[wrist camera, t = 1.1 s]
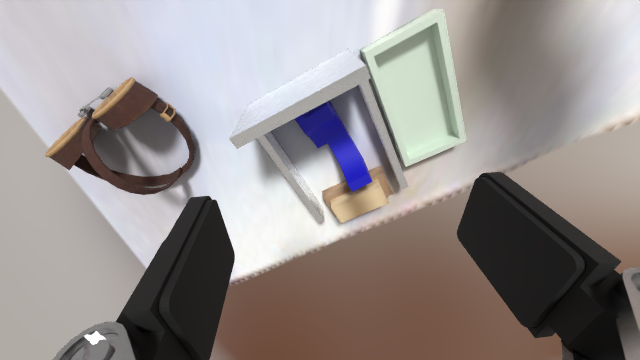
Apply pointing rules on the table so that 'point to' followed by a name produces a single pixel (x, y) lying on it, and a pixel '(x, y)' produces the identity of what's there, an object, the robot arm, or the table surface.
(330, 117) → the cable clip
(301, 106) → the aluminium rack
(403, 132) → the sage tray
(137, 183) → the goggles
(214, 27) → the table surface
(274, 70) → the table surface
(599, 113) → the table surface
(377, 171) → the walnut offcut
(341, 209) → the oak offcut
